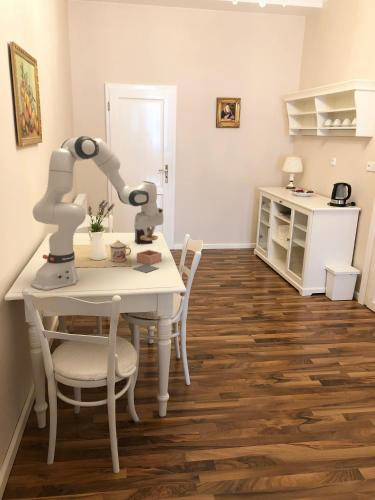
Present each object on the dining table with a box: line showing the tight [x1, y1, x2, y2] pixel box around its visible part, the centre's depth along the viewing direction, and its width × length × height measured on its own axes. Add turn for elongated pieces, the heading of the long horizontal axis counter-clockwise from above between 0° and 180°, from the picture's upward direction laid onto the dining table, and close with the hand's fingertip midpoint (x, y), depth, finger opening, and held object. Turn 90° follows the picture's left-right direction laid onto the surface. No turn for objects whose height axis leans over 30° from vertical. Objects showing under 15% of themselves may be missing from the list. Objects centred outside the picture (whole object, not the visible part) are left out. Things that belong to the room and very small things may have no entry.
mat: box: [132, 264, 160, 274], centre depth 221 cm, size 10×10×1 cm
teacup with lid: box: [110, 239, 132, 263], centre depth 234 cm, size 12×9×12 cm
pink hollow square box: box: [136, 249, 162, 266], centre depth 233 cm, size 10×10×5 cm
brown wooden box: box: [134, 227, 153, 245], centre depth 270 cm, size 16×11×18 cm
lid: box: [140, 230, 159, 242], centre depth 230 cm, size 10×10×5 cm
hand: (149, 234), depth 230 cm, fingers closed on lid, 3 cm apart
